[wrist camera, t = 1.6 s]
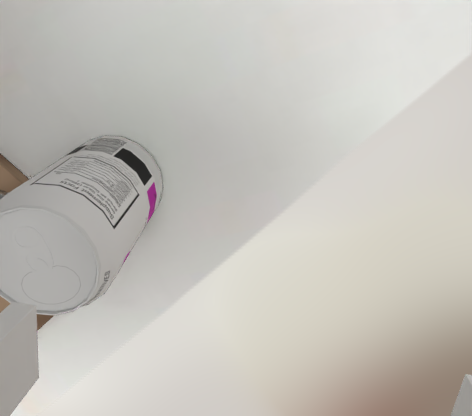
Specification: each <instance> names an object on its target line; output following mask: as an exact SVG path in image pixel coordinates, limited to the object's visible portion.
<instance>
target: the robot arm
mask: <svg viewBox="0 0 472 416" xmlns="http://www.w3.org/2000/svg"><path fill="white" fill-rule="evenodd" d="M38 378H39V370H38V341H37V312H36V305H29V304H23V303H17V302H12V303H11V304H10V305H8V306H7V307H6V308H5V309H4V310H3V311H2V312H1V313H0V416H10V415H11V414H12V412H13V411H14V410H15V408H16V407H17V406H18V404H19V403H20V402H21V400H22V399H23V398H24V396H25V395H26V394H27V393H28V391H29V390H30V389H31V387H32V386H33V385H34V383H35V382H36V381H37V379H38ZM451 416H472V375H467V374H466V375H465V377H464V380H463V383H462V385H461V388H460V391H459V394H458V397H457V400H456V402H455V405H454V408H453V411H452V414H451Z"/></svg>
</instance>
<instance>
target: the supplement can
mask: <svg viewBox="0 0 472 416" xmlns="http://www.w3.org/2000/svg"><path fill="white" fill-rule="evenodd" d="M162 189H163V183H162V177H161V172H160V169H159V167H158V166H157V164H156V162H155V160H154V159H153V157H152V155H151V154H149V153H148V152H147V151H146V150H145V149H144V148H143V147H142V146H140V145H139V144H138V143H135V142H133V141H131V140H128V139H126V138H124V137H118V136H102V137H99V138H95V139H92V140H89V141H87V142H86V143H84V144H83V145H81V146H80V147H78V148H77V149H75V150H74V151H72V152H71V153H69V154H68V155H66V156H64V157H63V158H61V159H60V160H58V161H57V162H55V163H54V164H52V165H51V166H49V167H48V168H46V169H44V170H43V171H41V172H40V173H38V174H37V175H35V176H34V177H32V178H31V179H29V180H28V181H26V182H25V183H23V184H21V185H20V186H18V187H17V188H15V189H14V190H12V191H11V192H9V193H8V194H6V195H5V196H4V197H3V198H2V199H0V296H1V297H2V298H4V299H5V300H7V301H8V302H9V303H12V302H17V303H23V304H29V305H36V312H37V314H42V315H54V316H55V315H59V314H64V313H68V312H72V311H74V310H76V309H77V308H79V307H81V306H85V305H88V304H90V303H91V302H93V301H94V300H96V299H97V298H99V297H100V296H102V295H103V294H105V292H106V291H107V289H108V288H109V286H110V285H111V283H112V281H113V280H114V278H115V277H116V275H117V273H118V272H119V270H120V268H121V267H122V265H123V263H124V262H125V260H126V258H127V256H128V255H129V253H130V251H131V250H132V248H133V246H134V245H135V243H136V241H137V240H138V238H139V236H140V234H141V233H142V231H143V229H144V228H145V226H146V224H147V223H148V221H149V219H150V218H151V216H152V214H153V212H154V211H155V209H156V207H157V206H158V204H159V202H160V200H161V195H162Z"/></svg>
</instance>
